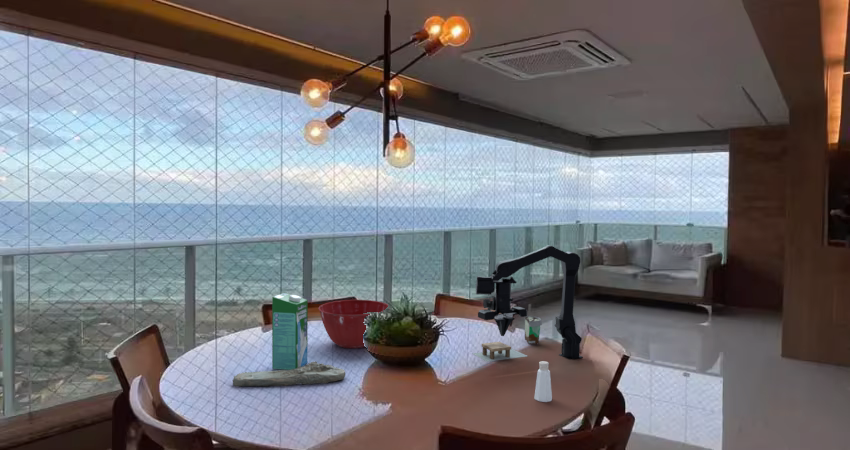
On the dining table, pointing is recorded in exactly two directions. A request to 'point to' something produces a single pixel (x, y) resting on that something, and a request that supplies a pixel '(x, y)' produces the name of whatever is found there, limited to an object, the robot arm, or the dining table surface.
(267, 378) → the elongated rock
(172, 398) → the dining table surface
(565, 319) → the robot arm
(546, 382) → the pepper shaker
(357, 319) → the mixing bowl
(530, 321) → the food container
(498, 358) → the mat
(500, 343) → the stool
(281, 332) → the milk carton
